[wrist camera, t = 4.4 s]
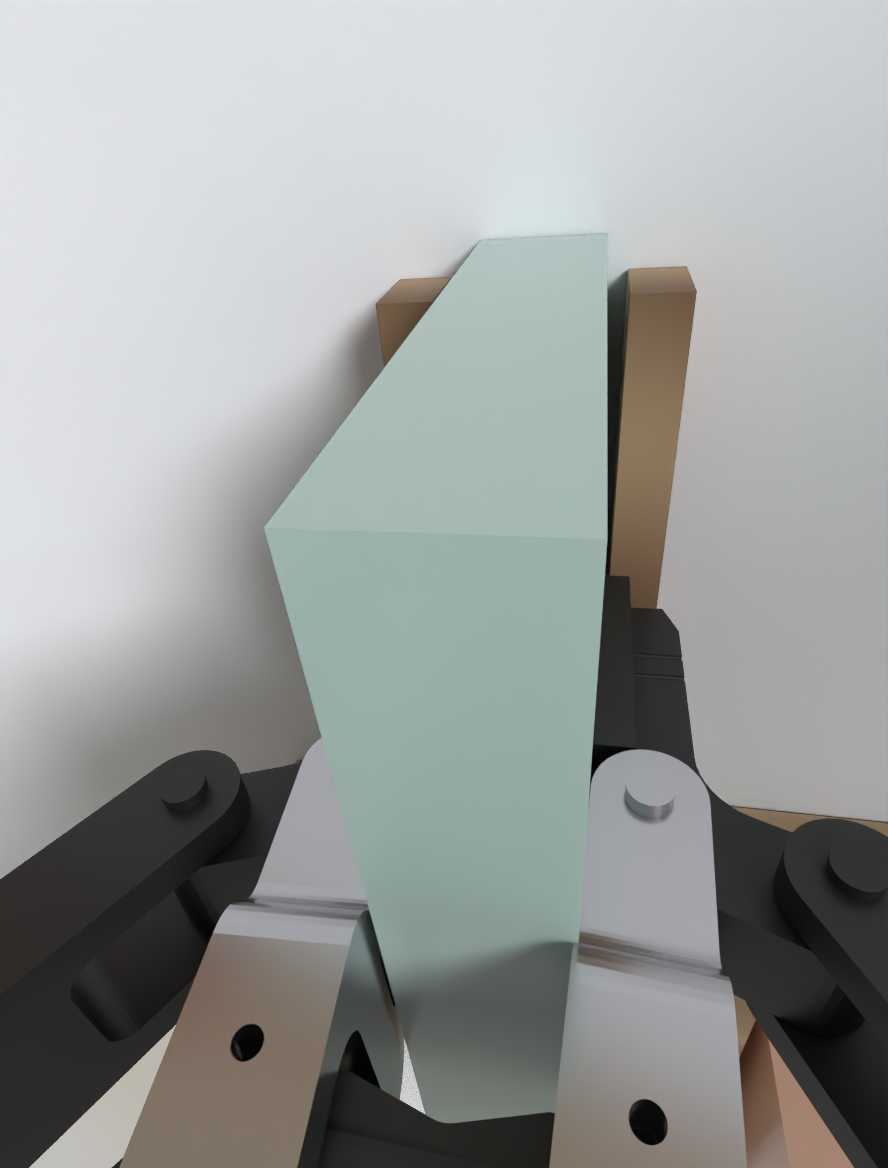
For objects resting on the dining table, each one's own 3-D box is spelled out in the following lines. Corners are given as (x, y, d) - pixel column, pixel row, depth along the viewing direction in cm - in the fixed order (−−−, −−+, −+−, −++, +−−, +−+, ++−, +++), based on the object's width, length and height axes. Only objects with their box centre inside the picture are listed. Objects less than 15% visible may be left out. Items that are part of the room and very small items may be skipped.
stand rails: (400, 279, 10) (375, 303, 9) (686, 266, 10) (696, 291, 9) (450, 724, 16) (439, 771, 15) (631, 740, 15) (633, 791, 14)
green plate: (480, 239, 10) (263, 528, 4) (607, 233, 10) (606, 538, 3) (503, 743, 16) (438, 1160, 10) (579, 750, 16) (561, 1186, 10)
